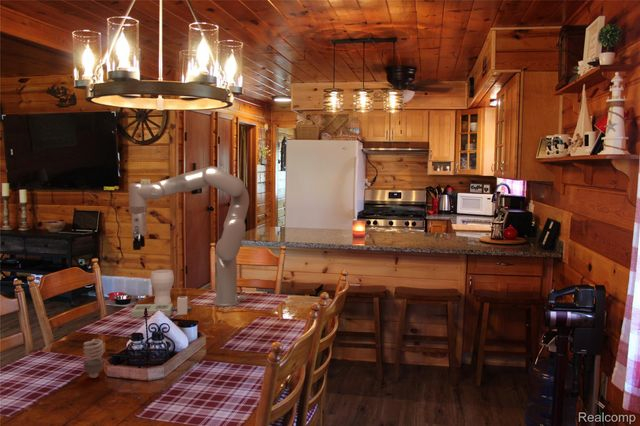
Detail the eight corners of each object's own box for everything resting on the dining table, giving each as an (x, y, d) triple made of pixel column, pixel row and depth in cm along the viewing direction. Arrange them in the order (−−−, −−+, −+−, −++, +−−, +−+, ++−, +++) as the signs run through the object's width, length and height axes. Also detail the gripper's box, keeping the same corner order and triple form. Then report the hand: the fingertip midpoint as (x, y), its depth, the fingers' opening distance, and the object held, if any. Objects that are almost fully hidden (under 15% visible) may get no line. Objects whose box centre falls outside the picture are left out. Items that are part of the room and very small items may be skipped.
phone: (192, 308, 239) (192, 306, 239) (191, 311, 234) (191, 308, 234) (174, 309, 238) (174, 306, 237) (173, 312, 233) (173, 309, 233)
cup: (149, 301, 250) (149, 270, 249) (172, 299, 254) (171, 268, 253) (152, 306, 240) (152, 274, 239) (175, 304, 245) (175, 272, 244)
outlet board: (172, 308, 237) (172, 302, 236) (169, 316, 225) (169, 309, 225) (136, 309, 234) (136, 303, 234) (131, 317, 222) (131, 310, 222)
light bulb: (98, 373, 161) (97, 335, 160) (107, 378, 158) (106, 339, 157) (80, 378, 157) (79, 339, 156) (89, 383, 154) (88, 344, 153)
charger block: (187, 311, 232) (187, 296, 231) (186, 314, 228) (186, 298, 227) (178, 312, 231) (178, 296, 231) (177, 314, 227) (177, 298, 227)
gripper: (143, 212, 226) (144, 251, 227) (150, 209, 243) (150, 245, 244) (125, 212, 225) (126, 251, 226) (133, 209, 242) (134, 245, 243)
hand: (139, 248), depth 235 cm, fingers open, 9 cm apart
